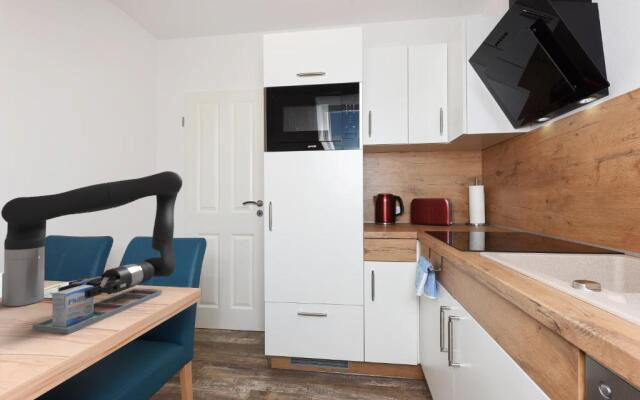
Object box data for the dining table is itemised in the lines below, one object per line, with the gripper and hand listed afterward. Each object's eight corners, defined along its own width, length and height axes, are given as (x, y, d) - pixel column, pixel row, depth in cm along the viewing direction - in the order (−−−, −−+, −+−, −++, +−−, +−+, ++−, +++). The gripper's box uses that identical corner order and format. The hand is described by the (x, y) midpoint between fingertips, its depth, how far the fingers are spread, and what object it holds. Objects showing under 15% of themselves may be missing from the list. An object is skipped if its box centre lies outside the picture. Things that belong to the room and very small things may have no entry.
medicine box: (65, 328, 78) (65, 293, 78) (51, 326, 78) (51, 292, 78) (94, 316, 85) (94, 285, 85) (80, 315, 86) (81, 284, 86)
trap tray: (32, 329, 77) (32, 325, 77) (133, 292, 108) (133, 288, 108) (68, 334, 75) (68, 329, 75) (160, 294, 106) (160, 291, 106)
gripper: (104, 264, 99) (50, 277, 83) (142, 267, 96) (95, 280, 80) (104, 288, 99) (50, 305, 83) (142, 291, 96) (94, 309, 80)
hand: (72, 293), depth 81 cm, fingers open, 8 cm apart
